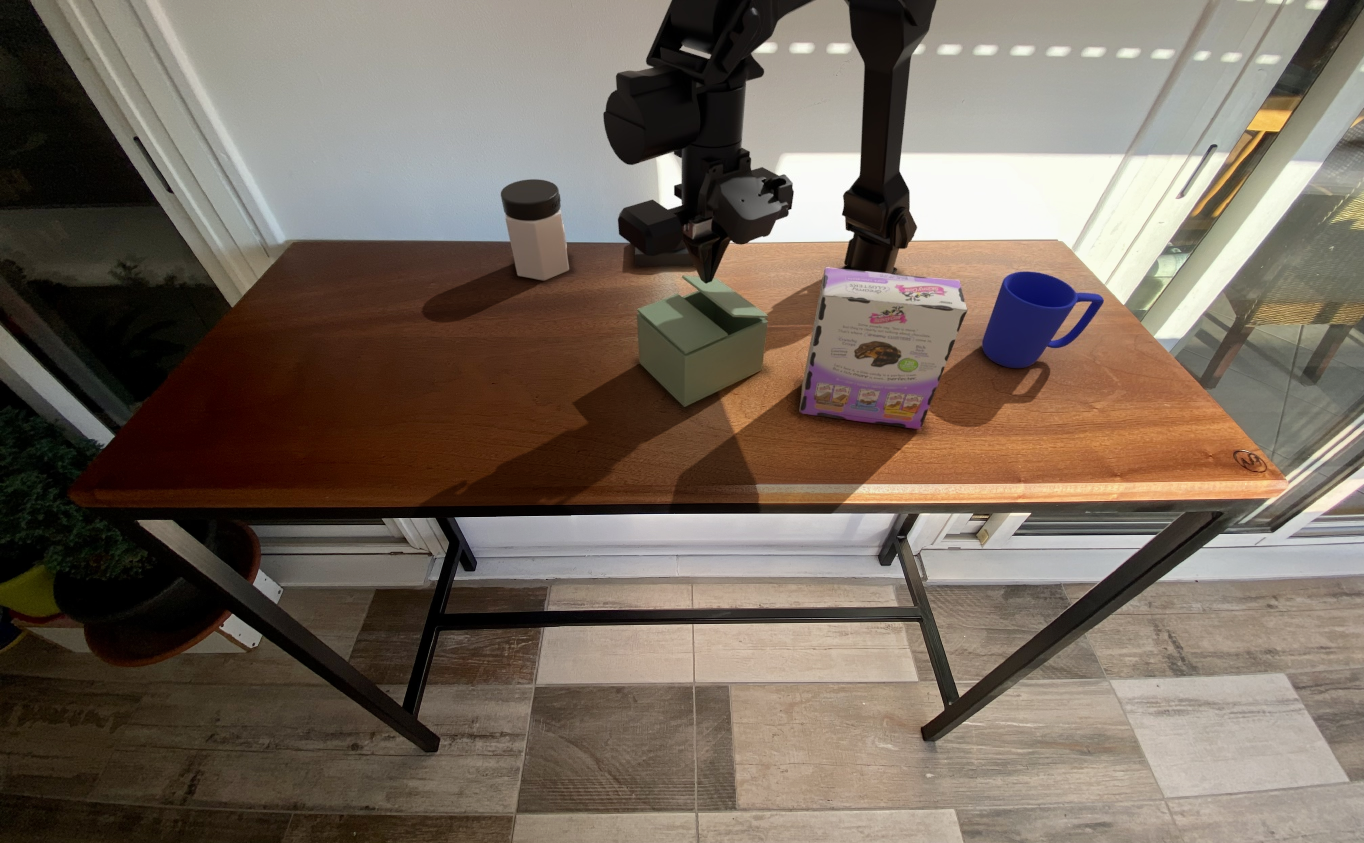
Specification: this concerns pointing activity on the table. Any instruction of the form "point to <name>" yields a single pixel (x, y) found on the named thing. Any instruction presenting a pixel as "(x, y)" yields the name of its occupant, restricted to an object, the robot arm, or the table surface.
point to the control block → (665, 258)
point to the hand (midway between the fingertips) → (706, 281)
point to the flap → (726, 298)
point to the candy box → (880, 346)
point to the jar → (535, 228)
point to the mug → (1032, 318)
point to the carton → (698, 345)
